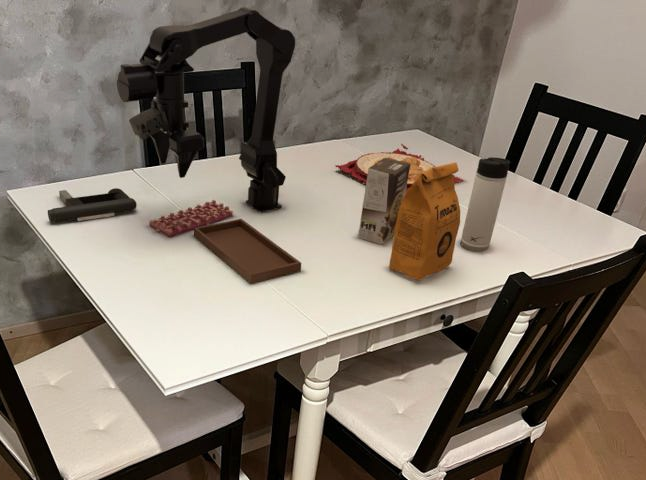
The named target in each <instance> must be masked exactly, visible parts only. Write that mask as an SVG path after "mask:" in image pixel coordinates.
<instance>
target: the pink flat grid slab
mask: <svg viewBox="0 0 646 480" xmlns="http://www.w3.org/2000/svg"><path fill="white" fill-rule="evenodd" d="M233 217H234V212H233V210H231V209H230V206H228V205H225V206H224V203H222V202H221V203H217V200H215V199H212V200H211V201H206V202H205V203H203V205H201V204H196V206H194V208H193V207H191V206H189V207H187V208H186V209H185V211H184V210H183V209H179V210H178V211H177V212H176V213H174V212H170V213H169V214H168V215H167V216H165V215H160V217H158V219H151V220H148V222H149V225H148V226H149V228H151V229H153V230H155V233H157V234H160V233H161V234H162V235H164V236H166V237H167V238H173V237H176V236H178V235H182V234H185V233H188V232H191V231H194V228H196V227H201V226H206V225H211V224H216V223H219V222H222V221H224V220H227V219H230V218H233Z"/></svg>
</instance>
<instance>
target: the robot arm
mask: <svg viewBox="0 0 646 480" xmlns="http://www.w3.org/2000/svg"><path fill="white" fill-rule="evenodd" d="M245 33H246V34H247V35H248V36H249V37H250V38H251V39H253V40H254V41H255V54H256V58H257V62H258V66H259V78H258V85H257V93H256V99H255V108H254V116H253V124H252V132H251V136H250V137H249V139H248V140H247V142H245V141H242V142H241V144H240V147H241V148H240V155H239V157H238V160H240V165H241V167H242V169H243V170H244V171H245V173H246V176H247V177H248V178H251V179H250V181H249V187H248V189H247V191H248V192H247V200H245V204H247V205H248V206H250V207H251V208H252V209H254V210H255V211H257V212H259V213H263V212H267V211H273V210H278V209H282V208H283V207H282V206H283V205H282V204H280V203H279V197H280V196H279V194H280V186H284V184H285V181H286V178H287V176H286V175H285V174H284V173H283V172H282V171H281V170H280V169H279V168H278V153H277V148H276V145H275V141H274V136H275V129H276V122H277V116H278V108H279V103H280V95H281V88H282V80H283V74H284V72H285V71H286V69H287V68H288V66H289V65H290V63H291V61H292V59H293V54H294V51H295V48H296V37H295V36H294V34H293V33H292V31H290V30H289V29H286V28H283V27H281V26H277V24H274V23H273V22H271V21H270V20H269V19H267V18H265V17H264V16H263V15H262V14H261V13H260V12H259V11H258V10H256V9H253V8H249V7H246V6H242V7H240V8H237V10H233V11H230V12H227V13H224V14H221V15H217V16H215V17H212V18H209V19H205V20H202V21H198V22H196V23H193V24H187V25H185V24H172V25H162V26H158V27H155V28H154V29H153V30H152V32H151V34H150V37H149V43H148V44H147V46H146V48H145V49H144V52H143V53H142V55H141V57H140V58H139V60H138V61H139V63H133V64H129V63H125V64H123V63H122V64H120V70H119V72H118V74H117V79H116V88H117V92H118V96H119V97H120V99H121V101H122V102H123V103H132V102H138V101H146V100H151V102H150V105H151V106H150V108H148V109H146V110H143V111H141V112H140V113H138V114H136V115H134V116H131V118H129V119H128V122H129V125H130V126H131V129H132V132H133V133H134V135H135V136H137V137H139V139H140V140H147V139H148V138H149V137H150V138H151V139H152V141H153V144H154V147H155V150H156V153H157V156H158V160H159V163H160V164H166V163H167V159H168V156H169V151H171V152H173V153H174V155H175V158H176V159H175V160H176V165H177V172H178V176H179V178H180V179H182V178H185V177H186V176H187V174H188V172H189V170H190V167H191V165H192V163H193V161H194V160H195V157H196V156H197V154H198V153H199V151H201V150H202V149H204V148H205V137H204V136H203V135H202V134H200V133H199V132H197V130H194V129H187V128H190V127H189V125H190V124H189V122H188V121H187V120H186V119H185V118H186V116H185V115H186V114H185V111H186V110H185V109H187V108H189V101H187V100H185V73H192V72H194V71H195V69H194V67H193V66H192V65H190V64H189V62H188V61H187V59H189V58H190V57H192V56H194V54H195V53H197V51H198V50H200V49H201V48H203V47H206V46H209V45H212V44H216V43H218V42H221V41H224V40H227V39H231V38H234V37H236V36H241V35H242V34H245ZM156 58H159V59H156ZM154 97H155V98H154ZM185 129H186V130H185Z"/></svg>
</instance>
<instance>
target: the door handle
mask: <svg viewBox="0 0 646 480" xmlns="http://www.w3.org/2000/svg"><path fill="white" fill-rule="evenodd" d="M58 192H59V194H58V195H59V198H60V200H61V201H62V202H63V204H65V206H61V207H54V208H51V209H47V217H48V220H49V222H54V223H58V222H66V221H72V220H76V221H78V222H81V221H88V220H94V219H102V218H108V217H114V216H115V215H116V214H122V213H127V212H128V213H129V212H133V211H135V210H136V208H137V205H138V204H137V201H136V200H135V199H134V198H133V197H130V196H129V195H128V194H127V193H125V192H124V191H123V190H122V189H121V188H118V187H117V188H111V189H109V191H108V192H107V193H100V194H93V195H85V196H77V197H73V196H72V195H71V194H70V193H69V192H68V191H67V189H63V190H58Z"/></svg>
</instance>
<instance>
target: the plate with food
mask: <svg viewBox="0 0 646 480" xmlns="http://www.w3.org/2000/svg"><path fill="white" fill-rule="evenodd" d="M400 146H402V149H404V150H400V148H397V149H395V150H393V151H392V152H391V151H388V152H384V151H382V152H372V153H371V152H370V153H367V154H362V155H361V156H359V157H357V158H356V159H354V160H350V161H348V162H347V163H345V164H340V165H339V164H338V165H337V164H335V165H334V166H335V168H338V170H342V171H343V172H345V173H346V174H349V175H350V176H351V177H354V178H356V179H358V180H360V181H363V182H362V184H363V185H366V181H367V175H368V168H370V167H371V166H373V165H374V164H376V163H378V162H379V161H381V160H382V159H384V158H387V159H391V160H397V161H402V162H406V163H410V164H411V165H410V170H409V176H408V181H407V187H406V192H407V190H408V189H409V188H410V187H411V186H412V184H413V183H414V182H415V181H416V179H417V178H418V177H419V175H420V174H421V173H423V172H425V171H426V170H428V169H430V168H432V167H436V166H435V165H434V164H433V163H431V162H429V161H427V160H425V157H423V156H422V155H421V154H419V155H418V154H412V153H407V152H406V151H407V150H409V147H407V146H406V145H404V144H403V143H400ZM405 150H406V151H405ZM452 176H453V177H454V183H455V184H456V183H460V182H463V181H464V179H463V178H460V177H458V176H455V175H454V174H452ZM405 194H406V193H405Z"/></svg>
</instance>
